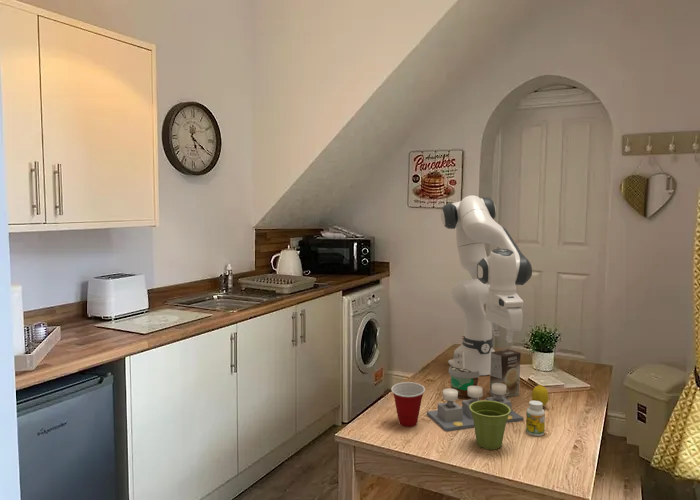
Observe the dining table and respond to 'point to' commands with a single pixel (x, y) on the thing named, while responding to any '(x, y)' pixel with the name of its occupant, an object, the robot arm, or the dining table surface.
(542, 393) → the lemon
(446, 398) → the button
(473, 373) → the food container
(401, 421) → the plastic cup
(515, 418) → the button board
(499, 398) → the button
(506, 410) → the plant pot
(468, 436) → the dining table surface
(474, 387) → the button
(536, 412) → the supplement bottle
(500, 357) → the coffee box
